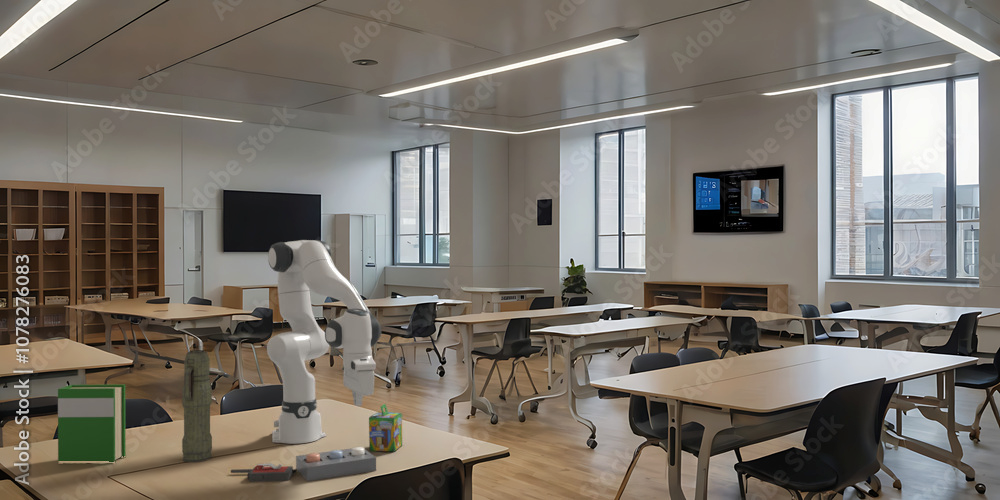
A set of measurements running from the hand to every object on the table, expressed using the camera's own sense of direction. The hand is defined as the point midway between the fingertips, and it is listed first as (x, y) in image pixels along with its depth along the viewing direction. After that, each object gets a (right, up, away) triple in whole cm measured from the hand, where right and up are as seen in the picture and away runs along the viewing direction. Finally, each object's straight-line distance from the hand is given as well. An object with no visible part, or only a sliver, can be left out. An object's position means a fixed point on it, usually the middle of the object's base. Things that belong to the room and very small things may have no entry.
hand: (357, 405), depth 227 cm
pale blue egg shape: (-6, -17, -3) cm, 18 cm away
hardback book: (-88, -20, +8) cm, 90 cm away
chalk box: (+6, -20, +21) cm, 29 cm away
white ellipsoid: (0, -17, 0) cm, 17 cm away
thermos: (-54, -20, +10) cm, 59 cm away
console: (-6, -19, -3) cm, 20 cm away
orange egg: (-12, -17, -7) cm, 22 cm away
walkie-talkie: (-27, -20, -11) cm, 35 cm away
